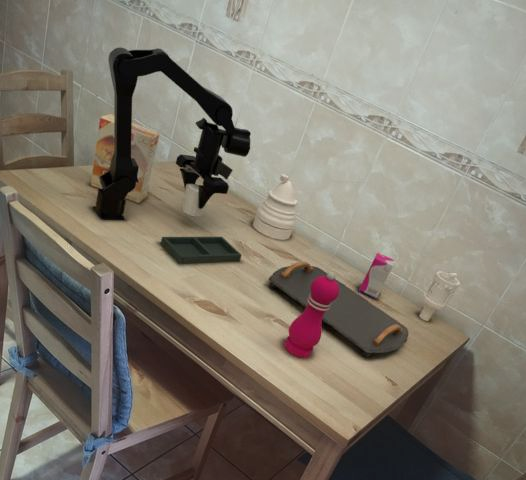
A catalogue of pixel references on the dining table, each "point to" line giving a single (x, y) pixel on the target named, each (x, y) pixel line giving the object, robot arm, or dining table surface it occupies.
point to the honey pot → (277, 211)
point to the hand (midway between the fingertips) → (194, 203)
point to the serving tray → (344, 310)
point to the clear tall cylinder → (438, 293)
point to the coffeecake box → (140, 151)
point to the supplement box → (377, 275)
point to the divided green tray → (200, 249)
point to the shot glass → (192, 200)
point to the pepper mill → (312, 316)
